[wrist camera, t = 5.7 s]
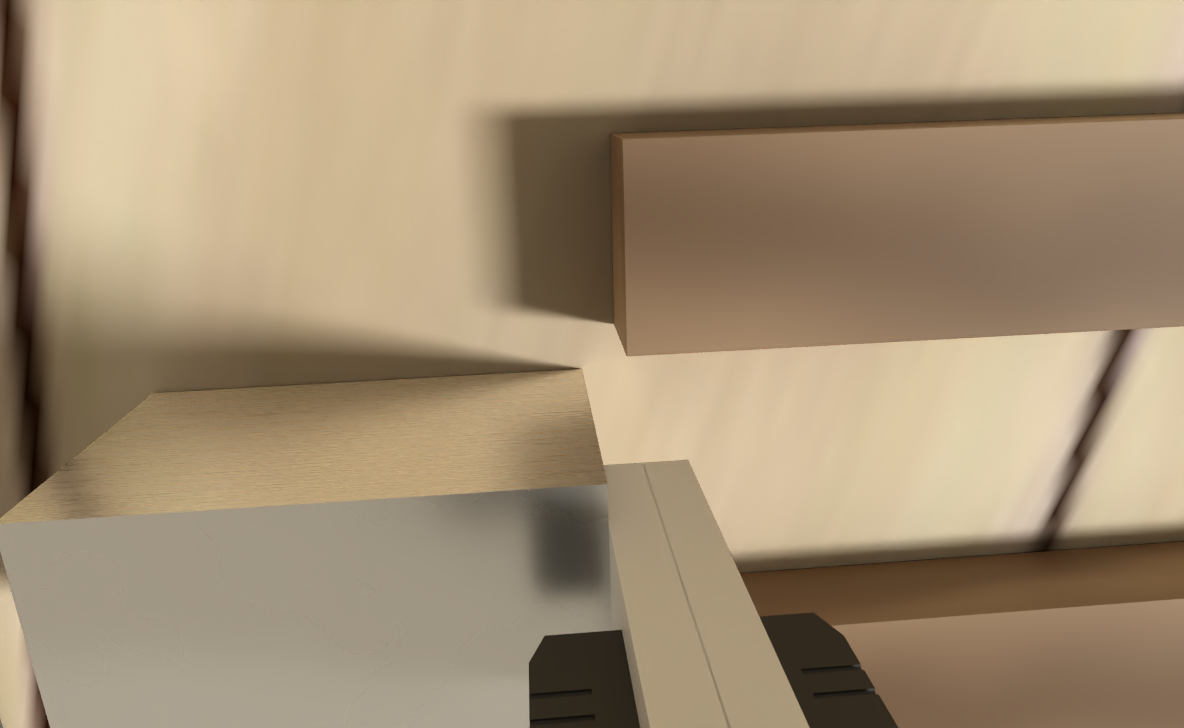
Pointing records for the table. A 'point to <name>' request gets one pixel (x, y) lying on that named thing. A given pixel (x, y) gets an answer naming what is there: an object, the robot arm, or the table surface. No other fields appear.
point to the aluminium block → (316, 555)
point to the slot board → (930, 312)
